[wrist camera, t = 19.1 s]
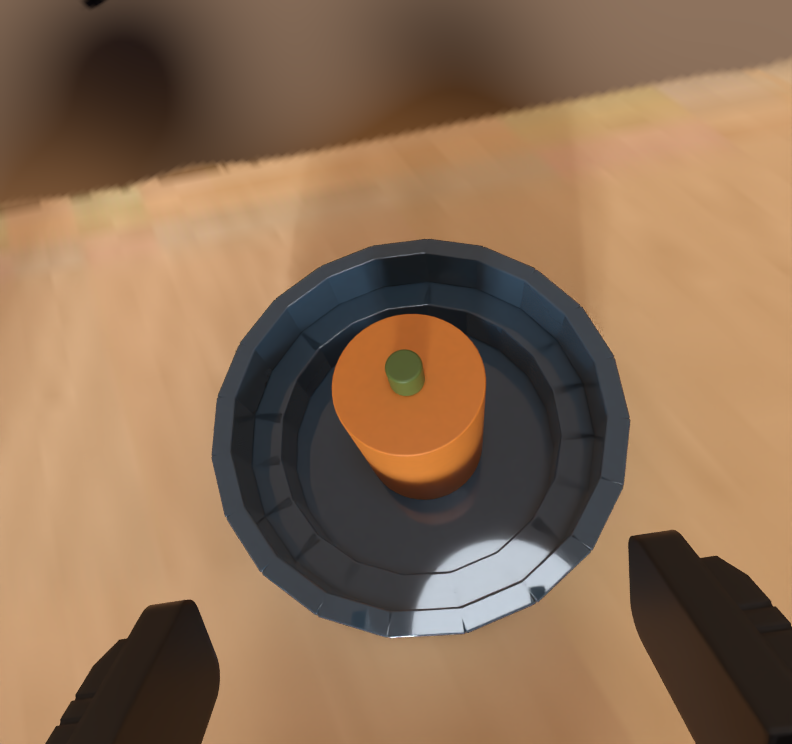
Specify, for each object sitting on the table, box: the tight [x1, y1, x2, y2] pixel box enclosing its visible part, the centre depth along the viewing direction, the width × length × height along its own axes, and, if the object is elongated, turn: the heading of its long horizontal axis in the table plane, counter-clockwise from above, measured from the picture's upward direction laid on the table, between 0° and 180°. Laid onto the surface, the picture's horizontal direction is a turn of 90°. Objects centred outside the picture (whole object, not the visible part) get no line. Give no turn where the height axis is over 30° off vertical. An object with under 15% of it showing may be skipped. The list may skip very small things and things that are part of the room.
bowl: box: [212, 239, 630, 638], centre depth 22 cm, size 16×16×5 cm
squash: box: [332, 314, 486, 500], centre depth 20 cm, size 5×5×8 cm
